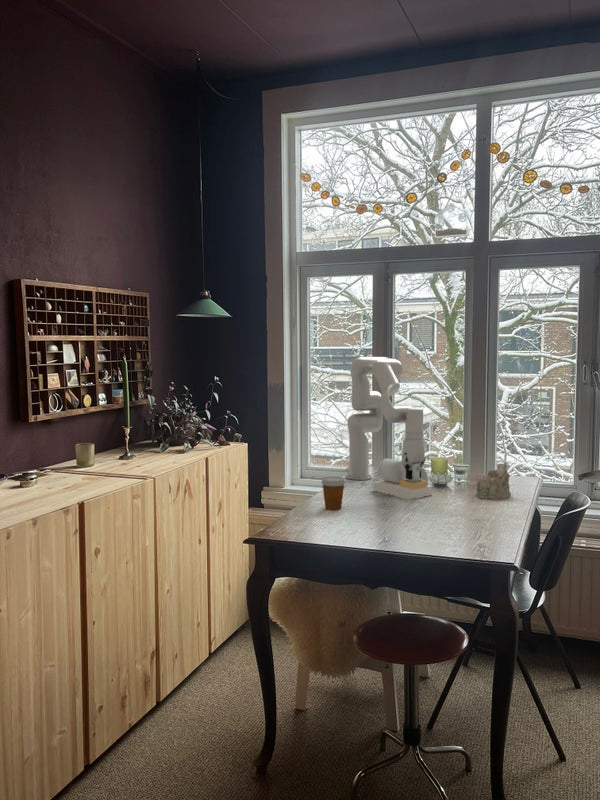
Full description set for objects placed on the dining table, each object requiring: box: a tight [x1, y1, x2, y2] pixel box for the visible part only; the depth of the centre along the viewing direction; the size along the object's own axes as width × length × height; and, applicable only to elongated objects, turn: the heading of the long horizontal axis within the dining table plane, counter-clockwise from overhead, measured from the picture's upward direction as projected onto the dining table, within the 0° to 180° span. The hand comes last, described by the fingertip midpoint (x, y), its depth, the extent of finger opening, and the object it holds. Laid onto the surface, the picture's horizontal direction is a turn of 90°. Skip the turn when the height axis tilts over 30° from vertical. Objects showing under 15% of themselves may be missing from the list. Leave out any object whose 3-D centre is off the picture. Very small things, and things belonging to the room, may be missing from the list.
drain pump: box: [408, 463, 425, 483], centre depth 286 cm, size 8×5×9 cm, turn 38°
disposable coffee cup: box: [321, 476, 346, 511], centre depth 265 cm, size 10×10×12 cm
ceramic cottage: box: [475, 462, 512, 500], centre depth 289 cm, size 16×16×15 cm
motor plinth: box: [372, 457, 433, 500], centre depth 292 cm, size 22×14×14 cm, turn 38°
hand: (413, 477), depth 287 cm, fingers closed on drain pump, 4 cm apart
